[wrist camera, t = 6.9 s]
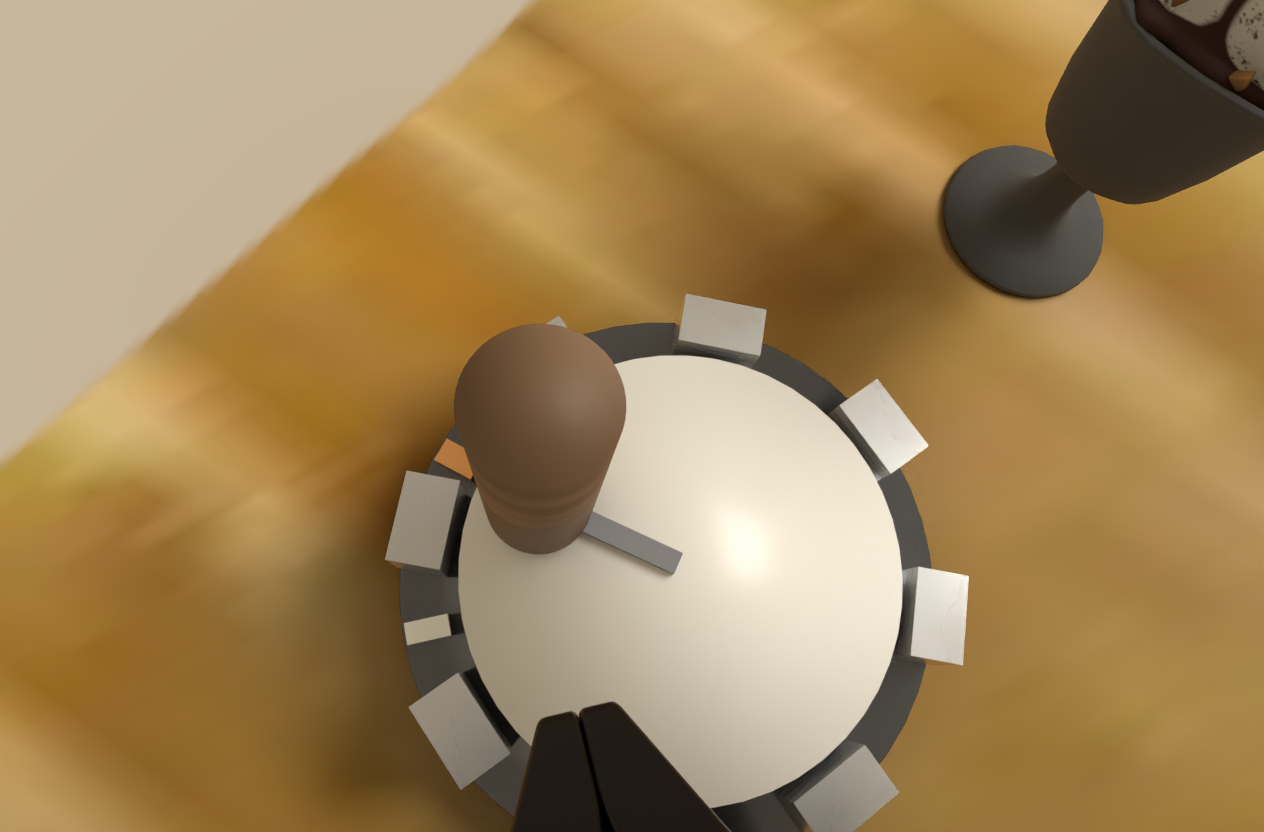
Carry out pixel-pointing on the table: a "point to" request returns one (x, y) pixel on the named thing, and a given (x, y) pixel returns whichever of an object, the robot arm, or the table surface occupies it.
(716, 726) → the dial
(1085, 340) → the table surface
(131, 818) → the table surface
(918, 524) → the dial plate
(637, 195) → the table surface
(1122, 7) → the sundae
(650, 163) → the table surface
